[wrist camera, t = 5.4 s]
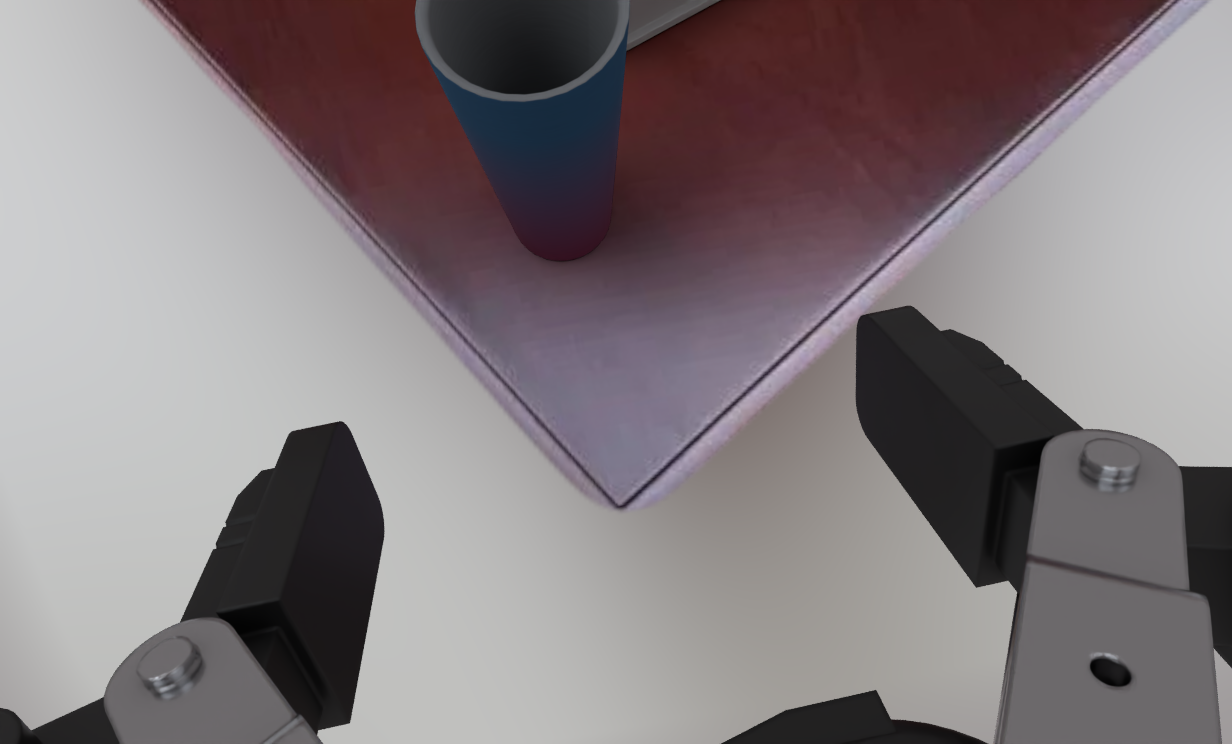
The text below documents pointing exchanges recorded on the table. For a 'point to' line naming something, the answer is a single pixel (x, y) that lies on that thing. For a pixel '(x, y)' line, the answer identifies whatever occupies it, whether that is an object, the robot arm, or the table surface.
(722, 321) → the table surface
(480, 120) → the cup
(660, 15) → the book
